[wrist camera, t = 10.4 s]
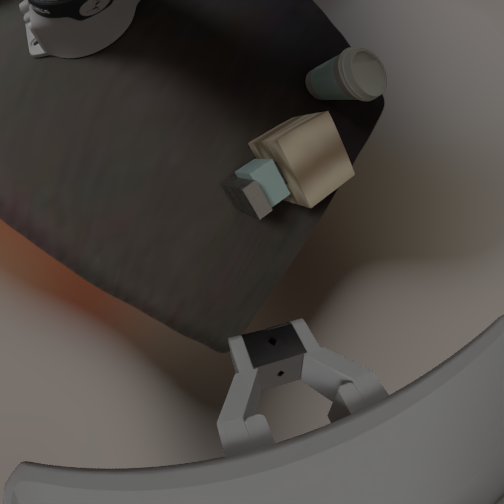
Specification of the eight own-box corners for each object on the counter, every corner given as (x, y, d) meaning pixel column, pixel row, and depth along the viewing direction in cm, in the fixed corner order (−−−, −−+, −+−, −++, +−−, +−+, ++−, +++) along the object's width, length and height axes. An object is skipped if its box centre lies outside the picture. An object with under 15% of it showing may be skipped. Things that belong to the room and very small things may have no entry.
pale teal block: (234, 171, 38) (249, 173, 34) (254, 158, 39) (272, 159, 34) (252, 202, 41) (269, 208, 36) (271, 189, 41) (290, 193, 37)
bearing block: (247, 143, 39) (277, 140, 31) (293, 117, 40) (328, 110, 33) (278, 198, 44) (311, 208, 36) (318, 170, 45) (355, 174, 37)
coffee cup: (340, 72, 41) (390, 61, 30) (335, 114, 43) (387, 108, 33) (301, 55, 37) (349, 34, 27) (294, 98, 39) (345, 86, 29)
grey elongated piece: (220, 183, 39) (242, 189, 32) (312, 125, 42) (346, 122, 35) (236, 208, 41) (259, 219, 34) (323, 148, 44) (357, 149, 37)
